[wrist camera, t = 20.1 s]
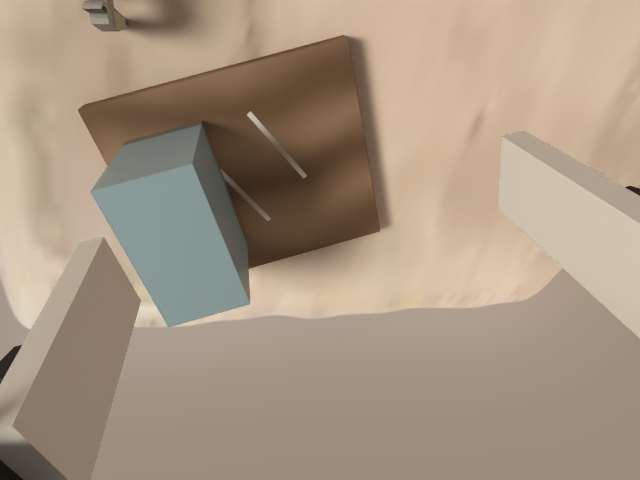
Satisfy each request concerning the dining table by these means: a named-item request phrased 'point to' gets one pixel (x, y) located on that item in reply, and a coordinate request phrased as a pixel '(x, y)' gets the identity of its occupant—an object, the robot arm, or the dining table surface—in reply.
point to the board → (267, 143)
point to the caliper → (105, 15)
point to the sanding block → (177, 223)
